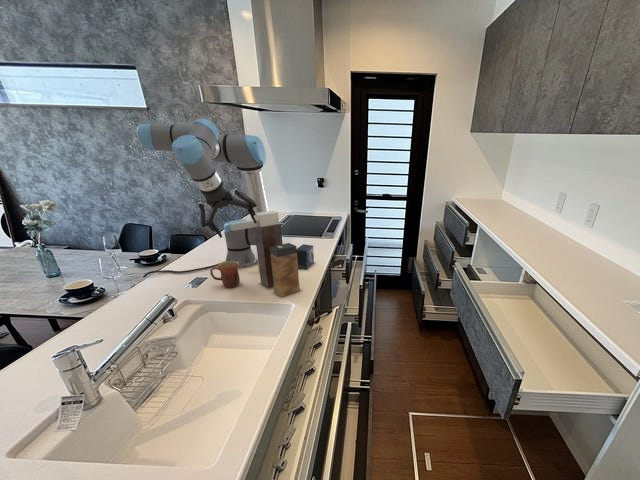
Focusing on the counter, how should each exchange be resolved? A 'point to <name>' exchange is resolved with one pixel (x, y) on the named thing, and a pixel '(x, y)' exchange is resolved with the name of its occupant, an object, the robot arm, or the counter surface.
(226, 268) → the mug
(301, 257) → the small box
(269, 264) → the tall pedestal
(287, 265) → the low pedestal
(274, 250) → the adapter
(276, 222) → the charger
